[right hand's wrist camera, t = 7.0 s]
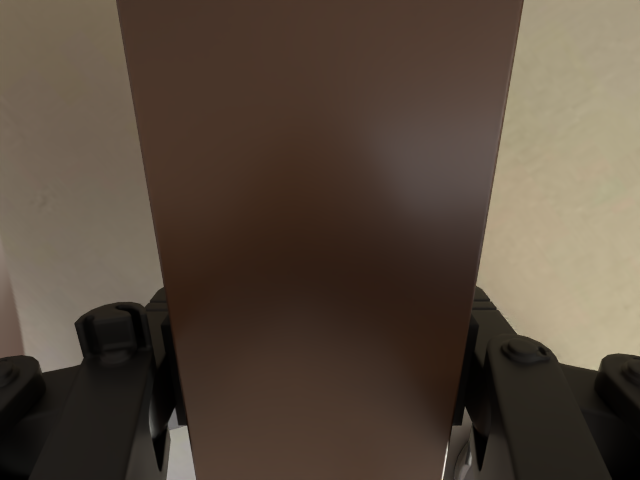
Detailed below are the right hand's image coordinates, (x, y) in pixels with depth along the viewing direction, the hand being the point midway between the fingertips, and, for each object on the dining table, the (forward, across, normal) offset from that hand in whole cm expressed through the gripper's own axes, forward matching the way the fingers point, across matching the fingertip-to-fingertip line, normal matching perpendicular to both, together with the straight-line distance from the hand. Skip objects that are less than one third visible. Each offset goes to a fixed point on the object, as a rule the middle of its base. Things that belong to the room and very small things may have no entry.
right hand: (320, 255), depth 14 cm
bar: (0, 0, -9) cm, 9 cm away
